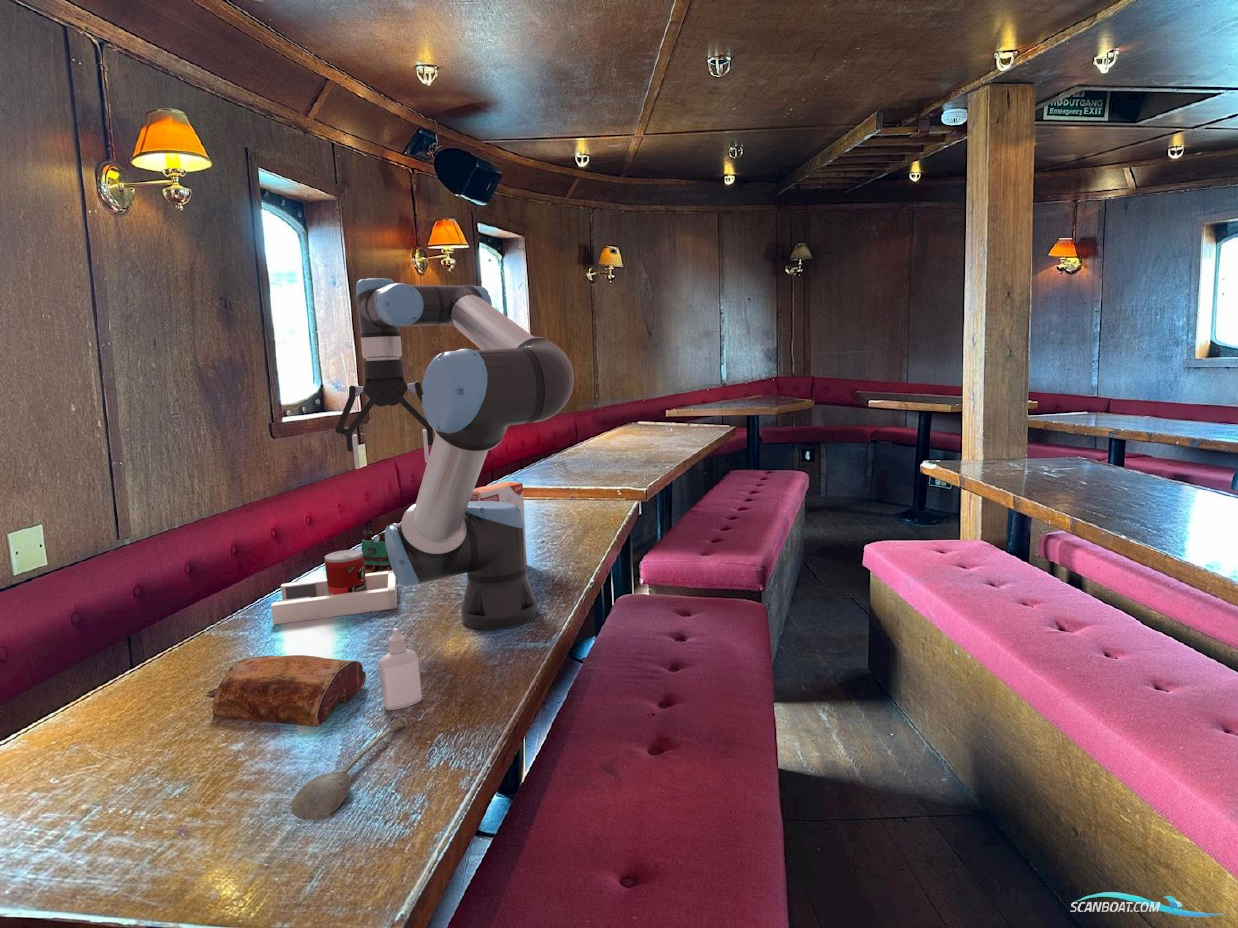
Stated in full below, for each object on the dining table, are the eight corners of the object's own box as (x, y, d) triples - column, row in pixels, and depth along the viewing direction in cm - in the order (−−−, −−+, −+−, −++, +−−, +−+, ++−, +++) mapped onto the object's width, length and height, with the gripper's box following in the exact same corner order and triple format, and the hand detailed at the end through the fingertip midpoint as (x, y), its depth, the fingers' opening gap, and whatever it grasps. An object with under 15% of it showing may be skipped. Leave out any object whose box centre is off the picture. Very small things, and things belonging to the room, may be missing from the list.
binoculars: (409, 527, 187) (383, 533, 177) (410, 569, 187) (384, 577, 178) (381, 525, 190) (353, 531, 181) (382, 566, 191) (354, 574, 181)
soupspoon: (279, 824, 87) (327, 834, 86) (276, 799, 87) (324, 808, 85) (384, 724, 108) (424, 730, 106) (382, 703, 107) (423, 709, 106)
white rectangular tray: (396, 607, 157) (395, 589, 156) (273, 624, 150) (270, 605, 149) (396, 586, 171) (395, 570, 170) (284, 601, 164) (282, 583, 164)
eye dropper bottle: (418, 709, 112) (411, 633, 110) (380, 711, 111) (373, 635, 109) (424, 695, 116) (417, 622, 114) (387, 698, 116) (380, 624, 114)
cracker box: (487, 580, 172) (480, 492, 169) (469, 576, 176) (462, 490, 173) (529, 564, 183) (523, 481, 180) (511, 561, 187) (506, 480, 184)
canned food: (356, 610, 156) (351, 559, 155) (322, 609, 158) (316, 559, 156) (374, 597, 164) (370, 549, 162) (342, 597, 165) (336, 549, 164)
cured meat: (250, 667, 130) (245, 630, 129) (381, 674, 125) (376, 636, 124) (170, 721, 113) (163, 679, 112) (318, 731, 108) (312, 688, 106)
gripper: (445, 356, 154) (454, 456, 158) (317, 362, 148) (329, 467, 151) (448, 356, 147) (456, 461, 151) (313, 362, 140) (325, 472, 144)
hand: (392, 464), depth 151 cm, fingers open, 13 cm apart
